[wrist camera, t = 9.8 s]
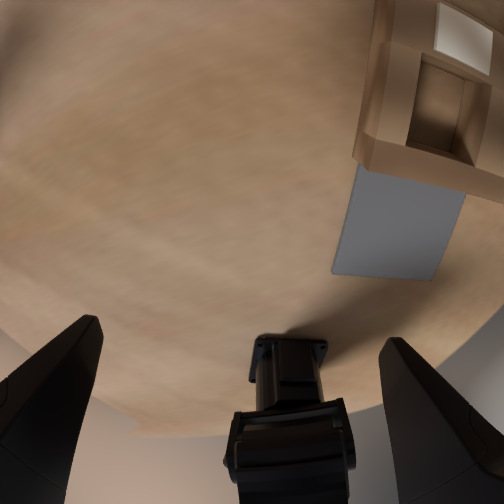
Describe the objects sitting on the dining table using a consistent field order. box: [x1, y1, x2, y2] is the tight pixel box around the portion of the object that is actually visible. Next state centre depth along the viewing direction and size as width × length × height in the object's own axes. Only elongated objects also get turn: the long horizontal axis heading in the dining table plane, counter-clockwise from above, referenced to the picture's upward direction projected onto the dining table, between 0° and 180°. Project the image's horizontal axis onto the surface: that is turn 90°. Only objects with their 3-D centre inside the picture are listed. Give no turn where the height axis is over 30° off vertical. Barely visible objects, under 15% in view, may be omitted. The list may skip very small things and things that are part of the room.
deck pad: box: [331, 162, 466, 281], centre depth 20 cm, size 9×9×1 cm
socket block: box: [352, 0, 504, 204], centre depth 14 cm, size 11×18×3 cm, turn 84°
